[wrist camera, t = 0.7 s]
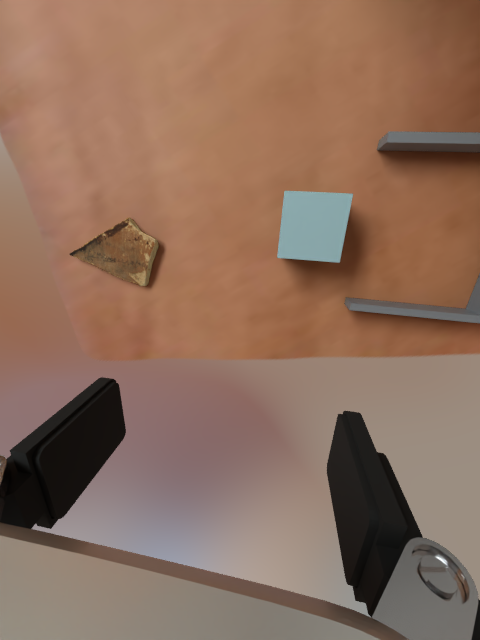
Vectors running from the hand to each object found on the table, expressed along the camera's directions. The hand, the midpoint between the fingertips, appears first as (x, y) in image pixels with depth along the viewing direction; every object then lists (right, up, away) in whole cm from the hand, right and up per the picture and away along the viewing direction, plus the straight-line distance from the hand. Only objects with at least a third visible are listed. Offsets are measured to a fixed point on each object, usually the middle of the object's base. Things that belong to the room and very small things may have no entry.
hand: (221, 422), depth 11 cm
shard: (-14, +12, +23) cm, 30 cm away
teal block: (+8, +15, +18) cm, 25 cm away
